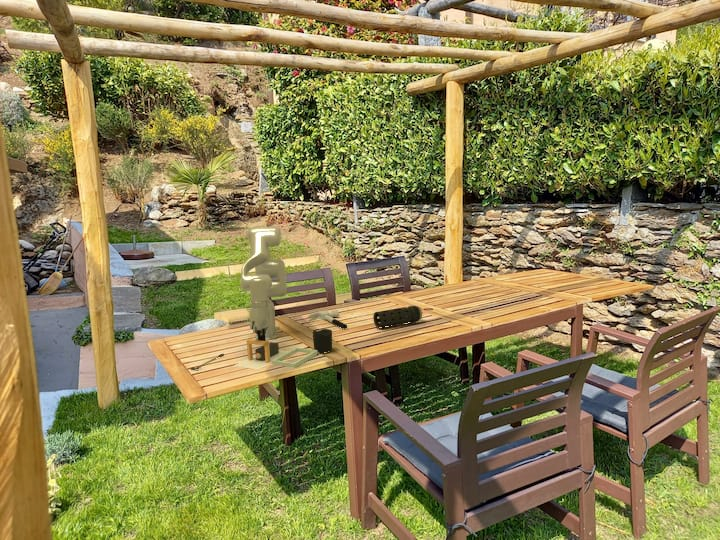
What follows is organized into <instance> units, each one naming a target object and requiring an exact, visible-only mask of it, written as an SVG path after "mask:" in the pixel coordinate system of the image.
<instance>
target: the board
mask: <svg viewBox="0 0 720 540" xmlns="http://www.w3.org/2000/svg"><path fill="white" fill-rule="evenodd" d="M289 351H290V350H289ZM289 351H288V350H283V349H279V353H278V354H276V355H274V356H272V357H270V361H269V362H265V361H261V360H256V354H253V358H252V359H250V360H249V359H248V358H246V359H244V360H242V361H240V362H238V363H237V364H234V365H233V366H234V367H238V368H239V367H240V368H246V369H251V370H257V371H259V370H261V369H263V368H264V367H266V366H268V365H270V364H272V360H274V359H276V358H278V357H280V356H282V355H284V354H285V353H287V352H289Z"/></svg>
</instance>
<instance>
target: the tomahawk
mask: <svg viewBox="0 0 720 540" xmlns="http://www.w3.org/2000/svg"><path fill="white" fill-rule="evenodd" d="M224 356H225V354H224V353H221V354H219V355H218V356H217V357H214V358H212V359H210V360H208V361H206V362H204V363H202V364H200V365H199V366H196V367H191V368H190V370H191V371H195V372H199V371H200V369H201V368H202V367H204V366H206V365H207V364H209V363H211V362H213V361H216V360H217V359H216V358H218V357H220V358H222V357H224ZM218 359H219V358H218ZM199 368H200V369H199Z"/></svg>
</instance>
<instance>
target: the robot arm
mask: <svg viewBox="0 0 720 540" xmlns="http://www.w3.org/2000/svg"><path fill="white" fill-rule="evenodd" d="M246 235H247V238H248V242H249V244H250V257H249V258H248V259H247V260H246V261H245V262H244V264H243V265H242V267H241V270H240V287H241V289H242V291H245V292H250V293H249V294H250V311H249V329H250V330H252V333H253V334H256V335H255V340H261V341H267V340H275V339H277V338H279V336H280V335H279V333H278V331H279V330H280V329H281V327H280V325H279V326H276V316H275V315H276V313H275V310H276V309H275V304H274V302H273V301H272V300H271V299H270V298H283V297H285V296H286V294H287V290H288V289H287V274H286V270H287V269H286V264H285V261H284V260H282V259H281V258H280V259H278V258H277V259H275V258H274V259H272V258H271V249H270V248H273V247H275V248H276V247H279V246H280V245H281V242H282V231H281V228H280V227H278V226H268V227H267V226H263V227H261V226H260V227H251V228H249V229H248V230H247V233H246ZM253 269H254V270H255V274H248V273H250V271H252V270H253ZM272 278H277V279H272Z"/></svg>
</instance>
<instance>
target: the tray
mask: <svg viewBox="0 0 720 540" xmlns="http://www.w3.org/2000/svg"><path fill="white" fill-rule="evenodd" d="M296 353H303V354H304V353H305V354H307V355H305V356H303V357H302V358H299V360H296V361H295V362H290V361H284V360H285V359H286V358H289V357H291V356H292V355H293V354H296ZM318 353H319V352H318V350H314V349H311V348H310V349H309V348H302V347H295V348H293V349H291V350H289V352H287V353H285V354H284V355H282V356H280V357H278V358H276V359H274V360H272V363H271V364H272V365H274V366H275V365H276V366H281V367H282V366H283V367H287V368H289V367H290V368H296V367H297V366H299V365H301V364H302V365H304V364H305V363H304V362H306V361H307V362H309V361H310V360H309V359H311V358H312V359H314V358H315V357H314V356H316V355H317V354H318ZM318 355H319V354H318ZM313 357H314V358H313ZM316 357H317V356H316ZM312 359H311V360H312ZM308 360H309V361H308ZM307 362H306V363H307ZM303 363H304V364H303ZM302 365H301V366H302ZM299 367H300V366H299ZM296 369H297V368H296Z"/></svg>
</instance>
